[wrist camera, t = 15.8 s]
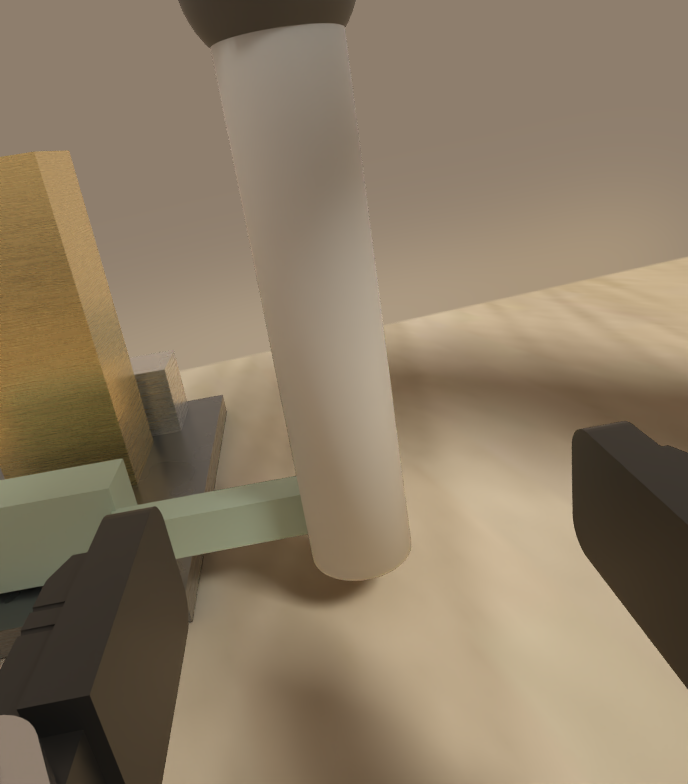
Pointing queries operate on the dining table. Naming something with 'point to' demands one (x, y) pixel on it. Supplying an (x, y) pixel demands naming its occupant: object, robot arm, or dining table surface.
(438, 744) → the dining table surface
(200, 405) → the base
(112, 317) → the brass block
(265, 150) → the sliding jaw
